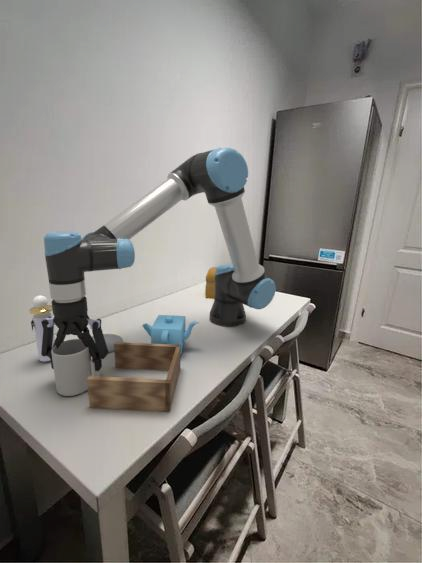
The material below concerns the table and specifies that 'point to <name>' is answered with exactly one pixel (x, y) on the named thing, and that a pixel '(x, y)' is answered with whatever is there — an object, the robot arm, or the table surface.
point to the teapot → (169, 330)
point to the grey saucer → (111, 341)
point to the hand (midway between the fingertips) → (78, 379)
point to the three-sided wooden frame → (138, 379)
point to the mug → (71, 367)
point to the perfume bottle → (40, 313)
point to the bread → (210, 283)
